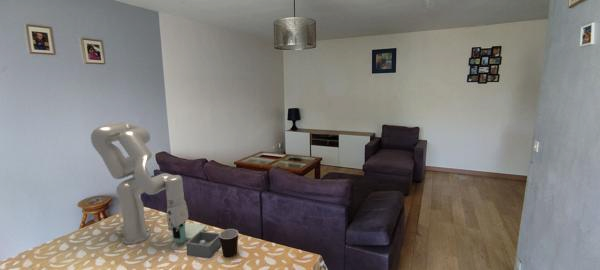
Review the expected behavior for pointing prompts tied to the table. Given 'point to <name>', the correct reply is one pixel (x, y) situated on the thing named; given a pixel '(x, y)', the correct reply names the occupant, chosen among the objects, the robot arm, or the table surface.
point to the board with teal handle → (188, 231)
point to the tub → (203, 244)
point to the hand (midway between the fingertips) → (179, 235)
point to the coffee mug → (229, 242)
